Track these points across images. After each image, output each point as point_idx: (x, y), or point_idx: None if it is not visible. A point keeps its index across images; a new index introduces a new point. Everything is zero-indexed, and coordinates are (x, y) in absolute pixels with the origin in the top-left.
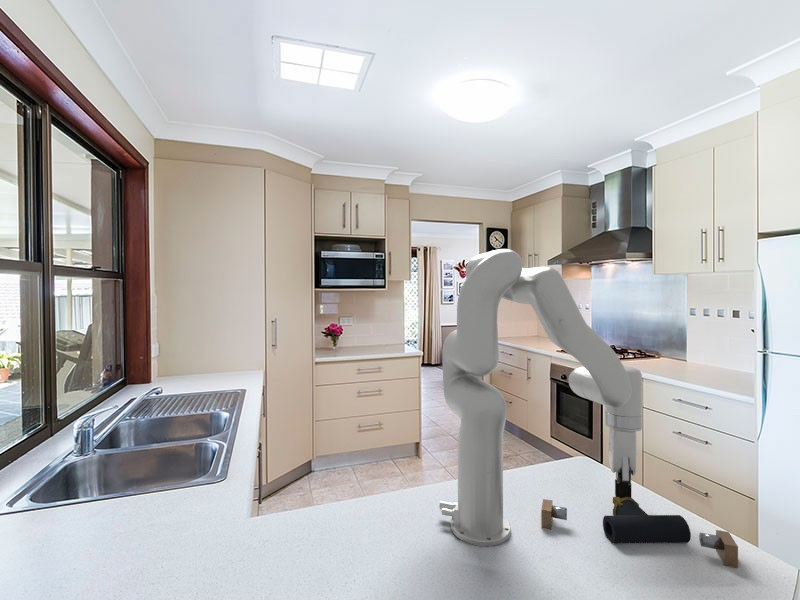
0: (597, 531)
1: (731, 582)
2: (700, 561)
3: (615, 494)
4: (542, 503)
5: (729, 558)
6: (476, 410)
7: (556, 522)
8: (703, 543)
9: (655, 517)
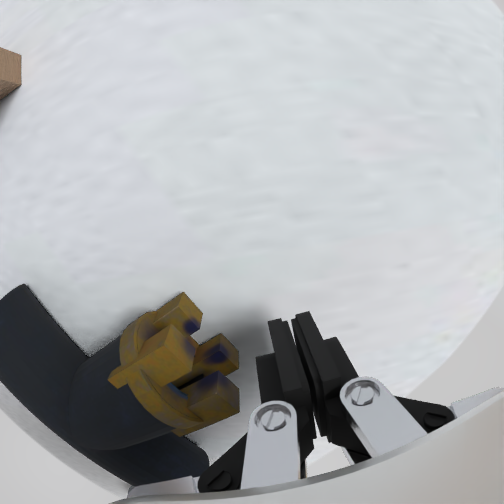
0: (31, 255)
1: (94, 473)
2: None
3: (298, 319)
4: None
5: None
6: None
7: (6, 110)
8: (130, 490)
9: (103, 464)
